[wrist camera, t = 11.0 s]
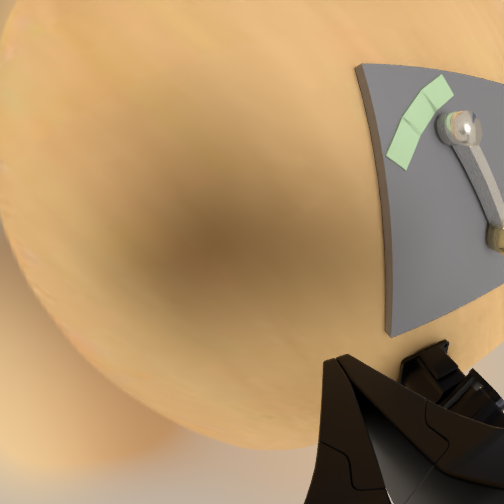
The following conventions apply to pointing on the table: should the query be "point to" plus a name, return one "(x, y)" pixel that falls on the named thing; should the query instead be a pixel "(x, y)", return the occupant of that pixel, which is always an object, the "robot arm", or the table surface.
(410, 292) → the dial board
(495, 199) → the lever
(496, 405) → the robot arm
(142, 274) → the table surface
